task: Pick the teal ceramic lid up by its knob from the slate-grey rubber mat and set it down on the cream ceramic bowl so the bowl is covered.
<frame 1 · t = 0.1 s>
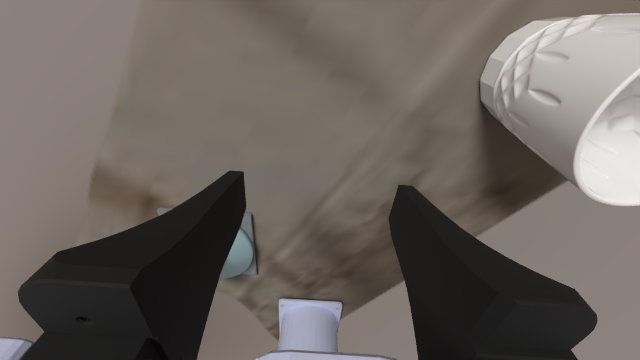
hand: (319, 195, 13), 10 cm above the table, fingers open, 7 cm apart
white cup: (527, 72, 19), on the table
lid: (211, 245, 29), resting on mat
mat: (212, 242, 29), on the table
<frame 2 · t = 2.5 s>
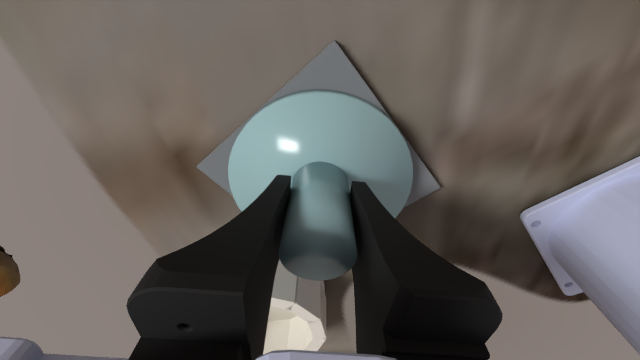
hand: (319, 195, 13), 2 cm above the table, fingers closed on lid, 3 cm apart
lid: (320, 177, 14), resting on mat, touching gripper
mat: (320, 173, 14), on the table
bowl: (269, 285, 20), on the table
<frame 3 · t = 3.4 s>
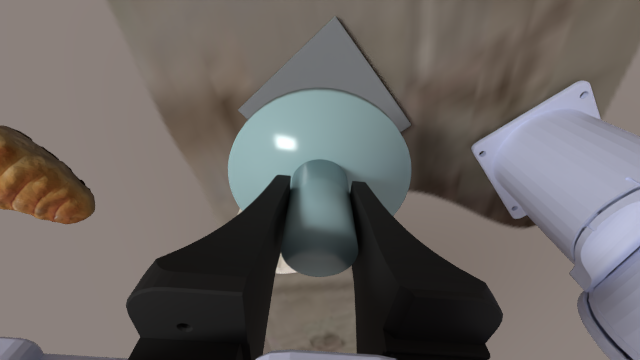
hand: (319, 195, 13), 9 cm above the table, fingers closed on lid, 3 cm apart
pastry: (41, 168, 24), on the table
lid: (319, 175, 14), point 7 cm above the table, touching gripper
mat: (325, 115, 20), on the table
when the fingers open (6 cm above the table, at t = 4.7 s): lid drops 1 cm, resting on bowl.
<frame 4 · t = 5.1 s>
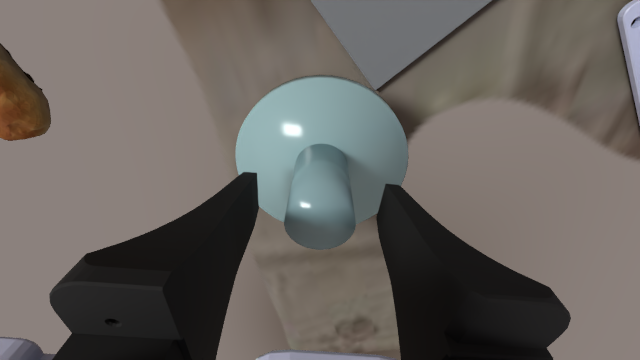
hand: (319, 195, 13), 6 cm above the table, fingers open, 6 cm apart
lid: (321, 160, 15), point 3 cm above the table, touching bowl
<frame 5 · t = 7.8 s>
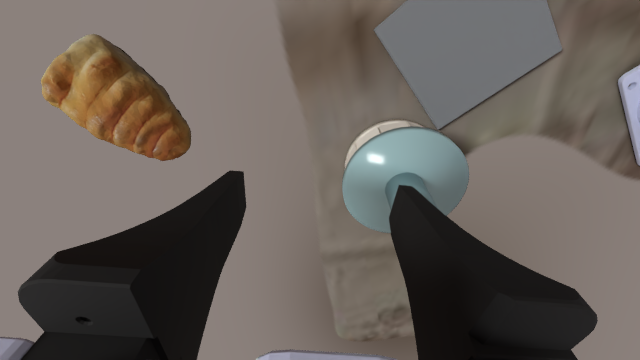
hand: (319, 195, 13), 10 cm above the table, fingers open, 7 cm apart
pastry: (135, 97, 21), on the table
lid: (401, 182, 20), point 3 cm above the table, touching bowl
mat: (466, 39, 18), on the table
bowl: (391, 163, 23), on the table
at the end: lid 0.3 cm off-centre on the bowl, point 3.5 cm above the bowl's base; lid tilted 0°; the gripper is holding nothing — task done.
